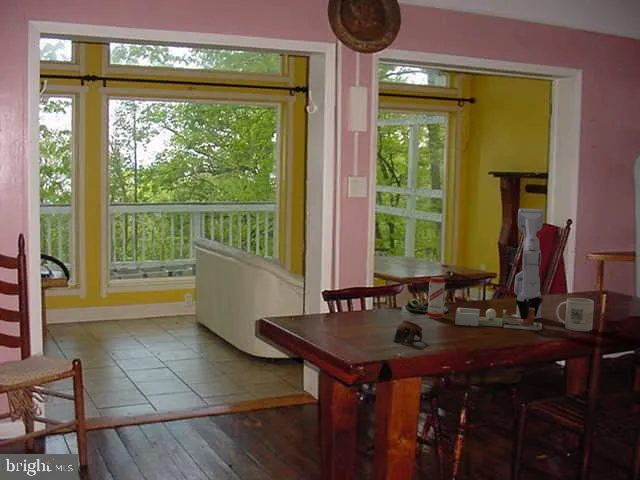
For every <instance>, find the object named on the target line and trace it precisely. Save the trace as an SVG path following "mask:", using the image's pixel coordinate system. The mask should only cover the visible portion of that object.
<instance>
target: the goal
mask: <svg viewBox="0 0 640 480" xmlns="http://www.w3.org/2000/svg"><path fill="white" fill-rule="evenodd" d="M480 311H481V309H480V308H479V309H478V308H465V307H457V309H456V312H455V321H454V322H455V325H460V326H469V325H470V327H471V326H472V327H479V325H478V316H479V317H481V316H480V313H481V312H480Z"/></svg>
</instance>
